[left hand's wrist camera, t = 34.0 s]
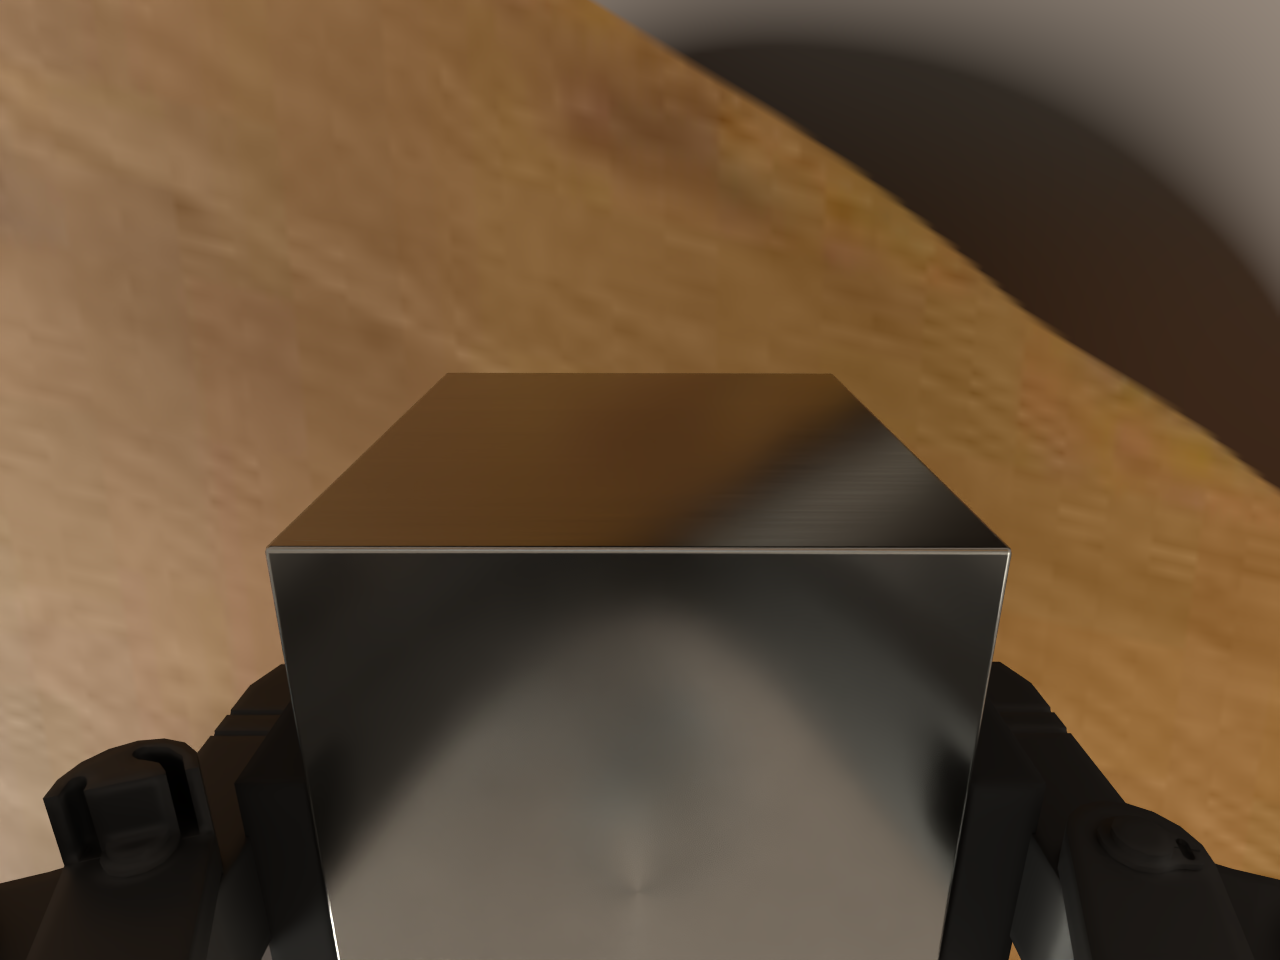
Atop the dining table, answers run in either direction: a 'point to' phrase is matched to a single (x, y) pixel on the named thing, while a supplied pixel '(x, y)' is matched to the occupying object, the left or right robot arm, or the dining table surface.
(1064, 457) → the dining table surface
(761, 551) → the block
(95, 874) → the left robot arm
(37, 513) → the dining table surface
